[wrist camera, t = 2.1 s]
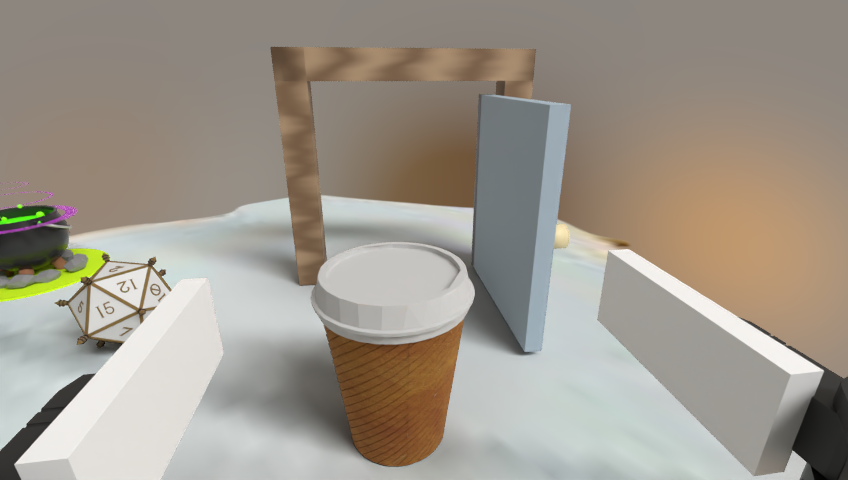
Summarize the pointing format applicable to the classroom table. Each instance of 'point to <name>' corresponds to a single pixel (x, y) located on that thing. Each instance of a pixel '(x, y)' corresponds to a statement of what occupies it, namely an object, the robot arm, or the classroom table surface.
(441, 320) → the disposable coffee cup
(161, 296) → the game die
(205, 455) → the classroom table surface
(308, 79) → the door frame
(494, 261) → the door
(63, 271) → the toy cauldron
